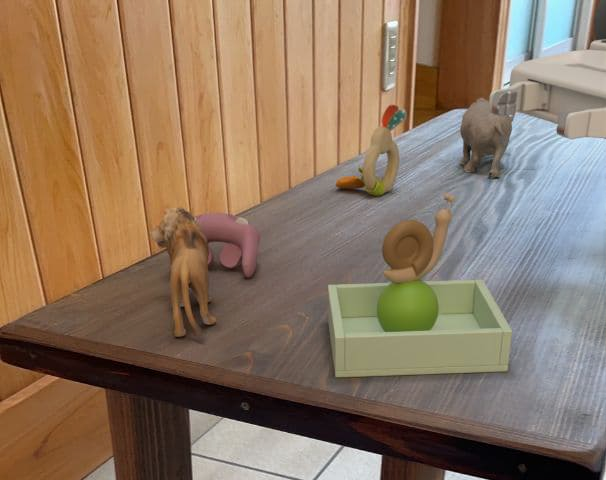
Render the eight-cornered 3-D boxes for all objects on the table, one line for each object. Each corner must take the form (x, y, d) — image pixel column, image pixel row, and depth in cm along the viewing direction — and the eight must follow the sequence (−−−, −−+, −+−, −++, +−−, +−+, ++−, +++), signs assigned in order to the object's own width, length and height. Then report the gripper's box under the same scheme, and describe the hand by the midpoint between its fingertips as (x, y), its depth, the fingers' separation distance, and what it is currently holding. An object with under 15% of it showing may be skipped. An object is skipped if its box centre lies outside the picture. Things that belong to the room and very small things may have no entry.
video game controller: (261, 282, 96) (264, 217, 95) (252, 276, 91) (255, 208, 90) (177, 279, 97) (179, 215, 96) (164, 273, 93) (166, 206, 92)
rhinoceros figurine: (449, 162, 122) (469, 58, 122) (448, 200, 136) (466, 106, 136) (503, 169, 121) (524, 64, 121) (497, 206, 135) (516, 112, 134)
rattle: (373, 181, 125) (375, 94, 119) (408, 192, 120) (412, 102, 113) (331, 189, 122) (331, 100, 115) (365, 201, 117) (367, 108, 110)
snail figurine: (457, 342, 76) (469, 201, 69) (392, 355, 74) (398, 211, 67) (427, 321, 80) (436, 186, 73) (365, 333, 78) (368, 196, 71)
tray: (479, 315, 82) (482, 279, 80) (507, 371, 72) (512, 331, 70) (328, 321, 82) (327, 284, 80) (335, 377, 72) (335, 337, 70)
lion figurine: (156, 293, 89) (145, 204, 84) (206, 288, 90) (198, 199, 85) (176, 347, 78) (164, 248, 73) (233, 339, 79) (226, 241, 74)
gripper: (747, 159, 67) (604, 186, 63) (581, 112, 82) (457, 131, 78) (771, 68, 63) (620, 91, 59) (592, 36, 78) (462, 53, 74)
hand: (526, 114), depth 68 cm, fingers open, 8 cm apart
